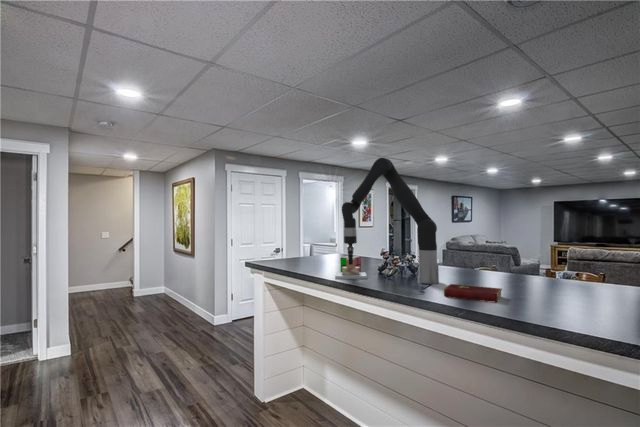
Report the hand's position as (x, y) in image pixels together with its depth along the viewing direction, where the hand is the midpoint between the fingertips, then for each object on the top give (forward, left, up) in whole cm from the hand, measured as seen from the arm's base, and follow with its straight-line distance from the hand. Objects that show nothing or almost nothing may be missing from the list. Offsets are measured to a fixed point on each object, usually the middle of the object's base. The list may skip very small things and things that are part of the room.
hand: (350, 263), depth 201 cm
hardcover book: (-52, +51, -9) cm, 74 cm away
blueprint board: (0, 0, -8) cm, 8 cm away
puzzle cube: (0, -17, -8) cm, 19 cm away
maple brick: (0, 0, -6) cm, 6 cm away
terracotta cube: (0, 0, -2) cm, 2 cm away
